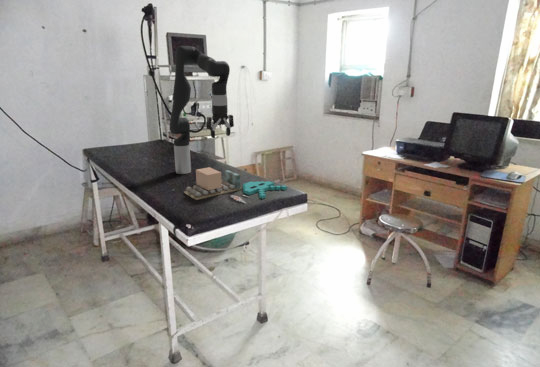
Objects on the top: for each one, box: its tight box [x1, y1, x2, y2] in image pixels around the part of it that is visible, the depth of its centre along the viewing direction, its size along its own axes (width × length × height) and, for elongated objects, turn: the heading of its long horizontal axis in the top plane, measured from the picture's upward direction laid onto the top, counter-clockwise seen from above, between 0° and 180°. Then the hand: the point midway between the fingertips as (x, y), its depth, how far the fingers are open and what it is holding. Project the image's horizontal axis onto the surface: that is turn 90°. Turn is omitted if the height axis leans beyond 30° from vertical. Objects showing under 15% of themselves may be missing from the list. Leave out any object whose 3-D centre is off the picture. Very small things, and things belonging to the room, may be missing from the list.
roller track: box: [183, 169, 243, 201], centre depth 193 cm, size 13×27×8 cm, turn 129°
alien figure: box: [242, 180, 288, 200], centre depth 198 cm, size 20×2×20 cm
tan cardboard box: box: [195, 166, 223, 190], centre depth 191 cm, size 12×8×8 cm, turn 39°
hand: (220, 136), depth 186 cm, fingers open, 8 cm apart
